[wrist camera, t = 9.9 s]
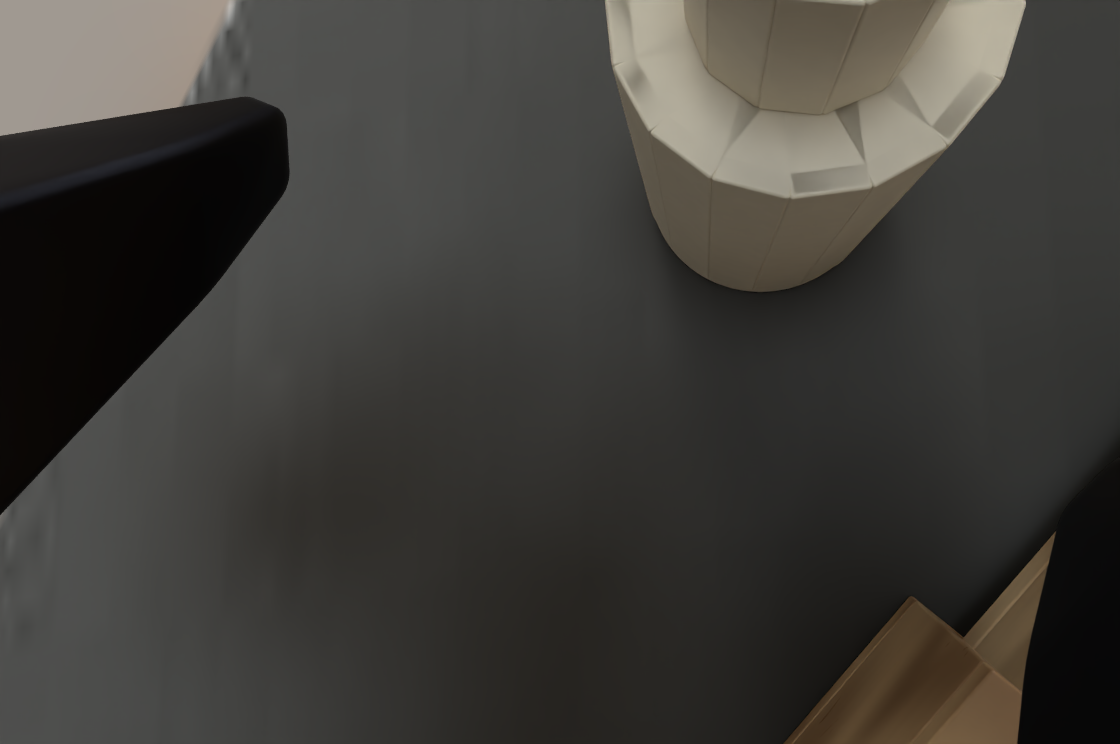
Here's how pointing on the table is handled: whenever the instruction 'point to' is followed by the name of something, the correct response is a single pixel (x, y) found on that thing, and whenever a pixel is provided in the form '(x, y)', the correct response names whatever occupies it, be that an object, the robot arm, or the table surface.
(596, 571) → the table surface
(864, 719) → the cabinet
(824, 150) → the bottle
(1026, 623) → the drawer
